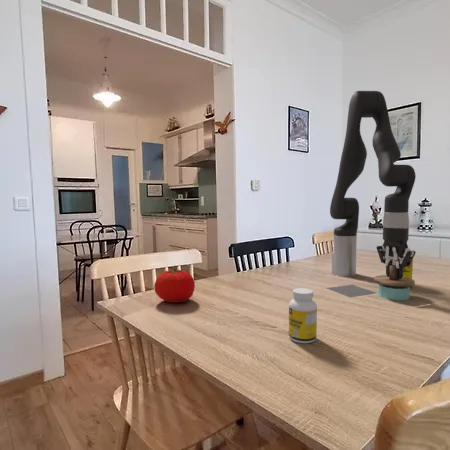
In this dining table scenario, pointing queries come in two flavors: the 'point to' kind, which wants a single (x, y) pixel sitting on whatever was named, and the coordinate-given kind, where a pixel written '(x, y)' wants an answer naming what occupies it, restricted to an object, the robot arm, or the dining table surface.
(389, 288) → the bowl
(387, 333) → the dining table surface
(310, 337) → the pill bottle
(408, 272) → the supplement box
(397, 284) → the lid
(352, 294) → the mat
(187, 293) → the tomato
